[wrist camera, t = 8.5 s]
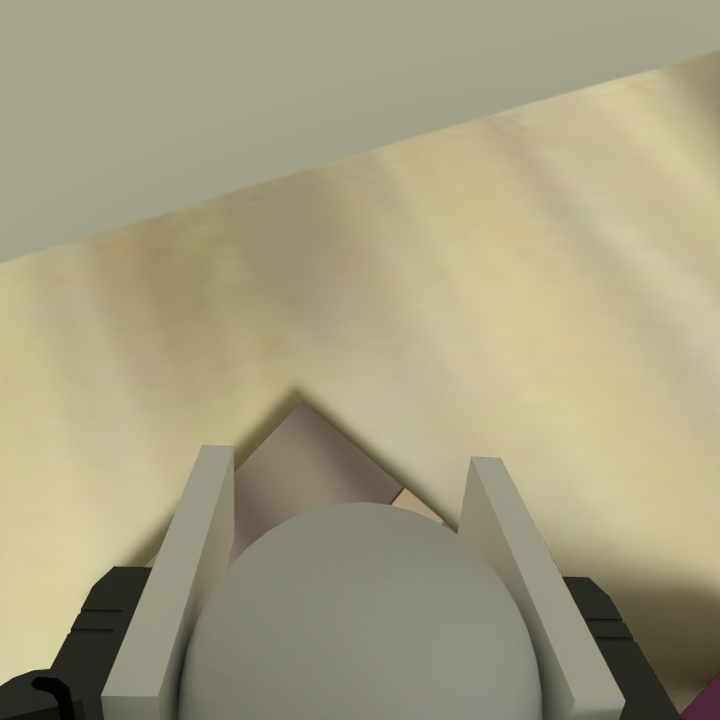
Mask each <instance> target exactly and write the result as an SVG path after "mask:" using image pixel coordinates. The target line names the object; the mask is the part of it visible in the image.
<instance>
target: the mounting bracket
mask: <svg viewBox="0 0 720 720" xmlns="http://www.w3.org/2000/svg"><path fill="white" fill-rule="evenodd" d="M680 716H681V717H682V718H683V719H685V720H720V673H719V674H718V675H717V676H716V677H715V678H714V679H713V680H712V681H711V682H710V683H709V684H708V685H707V687H706V688H705V689H704V690H703V691H702V692H701V693H700V694H699V695H698V696H697V697H696V698H695V699H694V700H693V701H692V703H691V704H690V705H689V706H688V707H687V708H686V709H685V710H684V711H683V712H682V713H681V714H680Z"/></svg>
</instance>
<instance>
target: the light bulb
mask: <svg viewBox="0 0 720 720" xmlns="http://www.w3.org/2000/svg"><path fill="white" fill-rule="evenodd" d="M178 720H543V717H542V690H541V684H540V678H539V672H538V665H537V659H536V656H535V653H534V649H533V646H532V643H531V639H530V636H529V633H528V629H527V627H526V625H525V623H524V620H523V618H522V616H521V614H520V612H519V609H518V607H517V605H516V603H515V601H514V599H513V598H512V596H511V595H510V593H509V591H508V590H507V588H506V587H505V585H504V583H503V582H502V580H501V579H500V577H499V576H498V575H497V574H496V572H495V571H494V570H493V569H492V568H491V566H490V565H489V564H488V563H487V562H486V561H485V559H484V558H483V557H482V556H481V555H480V554H479V553H478V552H477V551H476V550H475V549H474V548H472V547H471V546H470V545H469V544H468V543H467V542H466V541H465V540H464V539H462V538H461V537H460V536H458V535H457V534H455V533H454V532H452V531H451V530H449V529H448V528H446V527H445V526H443V525H442V524H440V523H438V522H436V521H434V520H432V519H430V518H427V517H425V516H423V515H421V514H419V513H416V512H414V511H411V510H407V509H403V508H400V507H396V506H392V505H387V504H378V503H369V502H356V503H339V504H334V505H330V506H325V507H320V508H316V509H313V510H310V511H308V512H305V513H303V514H300V515H297V516H295V517H292V518H290V519H288V520H287V521H285V522H283V523H281V524H280V525H278V526H276V527H275V528H273V529H271V530H269V531H268V532H266V533H265V534H264V535H263V536H262V537H260V538H259V539H258V540H257V541H255V542H254V543H253V544H252V545H250V546H249V547H248V548H247V549H246V550H245V551H244V552H243V553H242V554H241V555H240V556H239V557H238V558H237V559H236V560H235V561H234V563H233V564H232V565H231V566H230V567H229V568H228V569H227V570H226V572H225V573H224V575H223V576H222V577H221V579H220V580H219V582H218V583H217V585H216V586H215V588H214V589H213V590H212V592H211V593H210V595H209V597H208V599H207V601H206V603H205V605H204V607H203V609H202V611H201V613H200V615H199V617H198V619H197V621H196V624H195V627H194V630H193V633H192V636H191V639H190V642H189V644H188V647H187V650H186V655H185V660H184V665H183V670H182V675H181V681H180V691H179V711H178Z"/></svg>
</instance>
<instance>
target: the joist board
mask: <svg viewBox="0 0 720 720" xmlns="http://www.w3.org/2000/svg"><path fill="white" fill-rule="evenodd" d="M356 502H369V503H378V504H387V505H392V506H396V507H400V508H403V509H407V510H411V511H414V512H416V513H419V514H421V515H423V516H425V517H427V518H430V519H432V520H434V521H436V522H438V523H440V524H442V525H443V526H445V527H446V528H448V529H449V530H451V531H452V532H454V533H455V534H458V533H456V532H455V531H454V530H453V529H452V528H451V527H449V526H448V525H447V524H446V523H445V522H444V521H443V520H442V519H441V518H440V517H439V516H438V515H436V514H435V513H434V512H433V511H432V510H431V509H429V508H428V507H427V506H426V505H425V504H424V503H422V502H421V501H420V500H419V499H418V498H417V497H415V496H414V495H413V494H412V493H411V492H410V491H408V490H407V489H406V488H404V487H403V486H402V485H400V484H399V483H398V482H397V481H396V480H395V479H393V478H392V477H391V476H390V475H389V474H387V473H386V472H385V471H384V470H383V469H382V468H380V467H379V466H378V465H377V464H376V463H375V462H373V461H372V460H371V459H370V458H369V457H368V456H366V455H365V454H364V453H363V452H362V451H361V450H359V449H358V448H357V447H356V446H355V445H354V444H352V443H351V442H350V441H349V440H348V439H347V438H345V437H344V436H343V435H342V434H341V433H340V432H338V431H337V430H336V429H335V428H334V427H333V426H331V425H330V424H329V423H328V422H327V421H326V420H324V419H323V418H322V417H321V416H320V415H319V414H317V413H316V412H315V411H314V410H313V409H312V408H310V407H309V406H308V405H307V404H306V403H305V402H303V401H302V402H301V403H300V404H299V405H298V406H297V407H296V408H295V409H294V410H293V411H292V413H291V414H290V415H289V416H288V417H287V418H286V419H285V420H284V421H283V422H282V423H281V424H280V425H279V426H278V427H277V428H276V429H275V430H274V431H273V432H272V433H271V434H270V436H269V437H268V438H267V439H266V440H265V441H264V442H263V443H262V444H261V445H260V446H259V447H258V448H257V449H256V450H255V451H254V452H253V453H252V454H251V455H250V456H249V457H248V459H247V460H246V461H245V462H244V463H243V464H242V465H241V466H240V467H239V468H238V469H237V470H236V471H235V472H234V540H233V544H232V549H231V553H230V557H229V561H228V566H227V569H228V568H229V567H230V566H231V565H232V564H233V563H234V561H235V560H236V559H237V558H238V557H239V556H240V555H241V554H242V553H243V552H244V551H245V550H246V549H247V548H248V547H249V546H250V545H252V544H253V543H254V542H255V541H257V540H258V539H259V538H260V537H262V536H263V535H264V534H265V533H266V532H268V531H269V530H271V529H273V528H275V527H276V526H278V525H280V524H281V523H283V522H285V521H287V520H288V519H290V518H292V517H295V516H297V515H300V514H303V513H305V512H308V511H310V510H313V509H316V508H320V507H325V506H330V505H334V504H339V503H356ZM158 553H159V552H158ZM158 553H157V554H156V555H155V556H154V557H153V558H152V559H151V560H150V561H149V562H148V563H147V564H146V565H145V566H144V567H153V566H154V563H155V561H156V558H157V556H158Z"/></svg>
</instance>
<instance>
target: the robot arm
mask: <svg viewBox="0 0 720 720" xmlns="http://www.w3.org/2000/svg"><path fill="white" fill-rule="evenodd" d="M457 535H458V536H460V537H461V538H462V539H464V540H465V541H466V542H467V543H468V544H469V545H470V546H471V547H472V548H474V549H475V550H476V551H477V552H478V553H479V554H480V555H481V556H482V557H483V558H484V559H485V561H486V562H487V563H488V564H489V565H490V566H491V568H492V569H493V570H494V571H495V572H496V574H497V575H498V576H499V577H500V579H501V580H502V582H503V583H504V585H505V587H506V588H507V590H508V591H509V593H510V595H511V596H512V598H513V599H514V601H515V603H516V605H517V607H518V609H519V612H520V614H521V616H522V618H523V620H524V623H525V625H526V627H527V629H528V633H529V636H530V639H531V643H532V646H533V649H534V653H535V656H536V659H537V665H538V672H539V678H540V684H541V690H542V717H543V720H685V719H683V718H682V717H681V716H680V715H679V713H678V712H677V710H676V708H675V707H674V705H673V703H672V702H671V700H670V698H669V697H668V695H667V693H666V692H665V690H664V688H663V686H662V685H661V683H660V681H659V680H658V678H657V676H656V675H655V673H654V671H653V670H652V668H651V666H650V665H649V663H648V661H647V659H646V658H645V656H644V654H643V653H642V651H641V649H640V648H639V646H638V644H637V643H636V642H634V640H633V636H632V634H631V633H630V631H629V629H628V627H627V626H626V624H625V623H623V622H622V617H621V616H620V614H619V612H618V611H617V609H616V607H615V606H614V604H613V602H612V601H611V599H610V597H609V596H608V595H607V594H606V593H605V592H604V591H602V590H601V589H600V588H599V587H598V586H597V585H596V584H595V583H594V582H593V581H592V580H591V579H589V578H588V577H562V576H561V574H560V573H559V571H558V569H557V567H556V565H555V563H554V561H553V559H552V557H551V555H550V553H549V551H548V549H547V547H546V545H545V543H544V541H543V539H542V537H541V536H540V534H539V532H538V530H537V528H536V526H535V524H534V522H533V520H532V518H531V516H530V514H529V512H528V510H527V508H526V506H525V504H524V502H523V501H522V499H521V497H520V495H519V493H518V491H517V489H516V487H515V485H514V483H513V481H512V479H511V477H510V475H509V473H508V471H507V469H506V467H505V465H504V464H503V462H502V460H501V458H492V457H471V461H470V466H469V472H468V477H467V483H466V489H465V494H464V500H463V506H462V511H461V517H460V523H459V528H458V534H457ZM233 540H234V446H211V445H202V447H201V449H200V452H199V454H198V457H197V459H196V462H195V464H194V467H193V469H192V472H191V474H190V477H189V479H188V482H187V484H186V487H185V489H184V492H183V494H182V497H181V499H180V501H179V504H178V506H177V509H176V511H175V514H174V516H173V519H172V521H171V524H170V526H169V529H168V531H167V534H166V536H165V539H164V541H163V544H162V546H161V548H160V551H159V553H158V556H157V558H156V561H155V563H154V566H153V567H116V566H114V567H113V568H112V569H111V570H110V571H109V572H108V573H107V574H105V575H104V576H103V577H102V578H101V579H100V580H99V581H98V582H97V583H96V584H95V585H94V586H93V587H92V589H91V591H90V593H89V595H88V597H87V599H86V601H85V602H84V604H83V606H82V608H81V613H80V614H78V616H77V618H76V620H75V622H74V624H73V626H72V628H71V632H70V634H68V635H67V637H66V639H65V641H64V643H63V645H62V647H61V649H60V651H59V653H58V655H57V656H56V658H55V660H54V662H53V664H52V666H51V668H50V669H44V670H34V671H31V672H28V673H25V674H22V675H20V676H17V677H14V678H12V679H11V680H9V681H8V682H6V683H4V684H3V685H1V686H0V720H178V711H179V691H180V681H181V675H182V670H183V665H184V660H185V655H186V650H187V647H188V644H189V642H190V639H191V636H192V633H193V630H194V627H195V624H196V621H197V619H198V617H199V615H200V613H201V611H202V609H203V607H204V605H205V603H206V601H207V599H208V597H209V595H210V593H211V592H212V590H213V589H214V588H215V586H216V585H217V583H218V582H219V580H220V579H221V577H222V576H223V575H224V573H225V572H226V570H227V566H228V561H229V557H230V553H231V549H232V544H233Z"/></svg>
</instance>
